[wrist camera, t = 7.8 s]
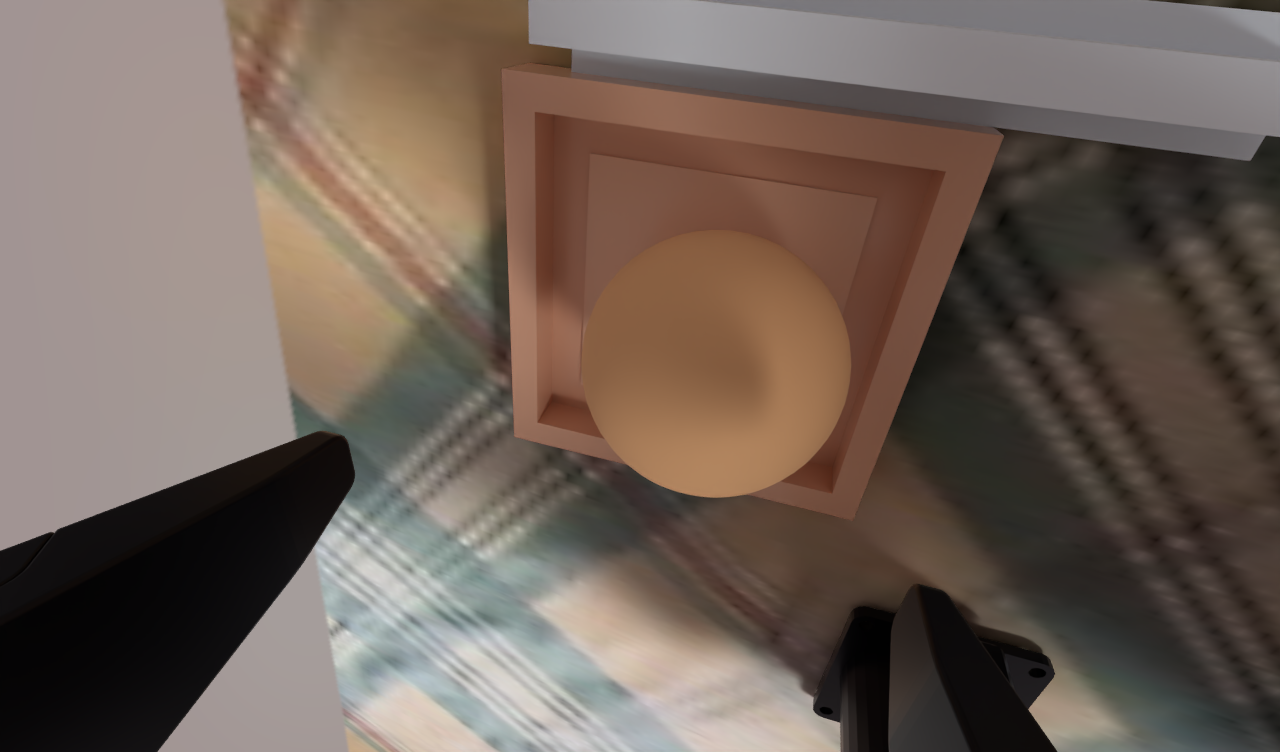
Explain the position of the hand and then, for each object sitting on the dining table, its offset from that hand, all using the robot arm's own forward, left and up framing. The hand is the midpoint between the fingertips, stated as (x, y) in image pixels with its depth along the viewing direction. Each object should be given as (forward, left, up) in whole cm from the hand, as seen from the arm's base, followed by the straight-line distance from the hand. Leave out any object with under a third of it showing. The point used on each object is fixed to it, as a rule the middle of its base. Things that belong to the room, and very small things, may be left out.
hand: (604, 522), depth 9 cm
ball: (0, -1, -6) cm, 6 cm away
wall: (+6, -3, -9) cm, 12 cm away
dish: (0, 0, -9) cm, 9 cm away
